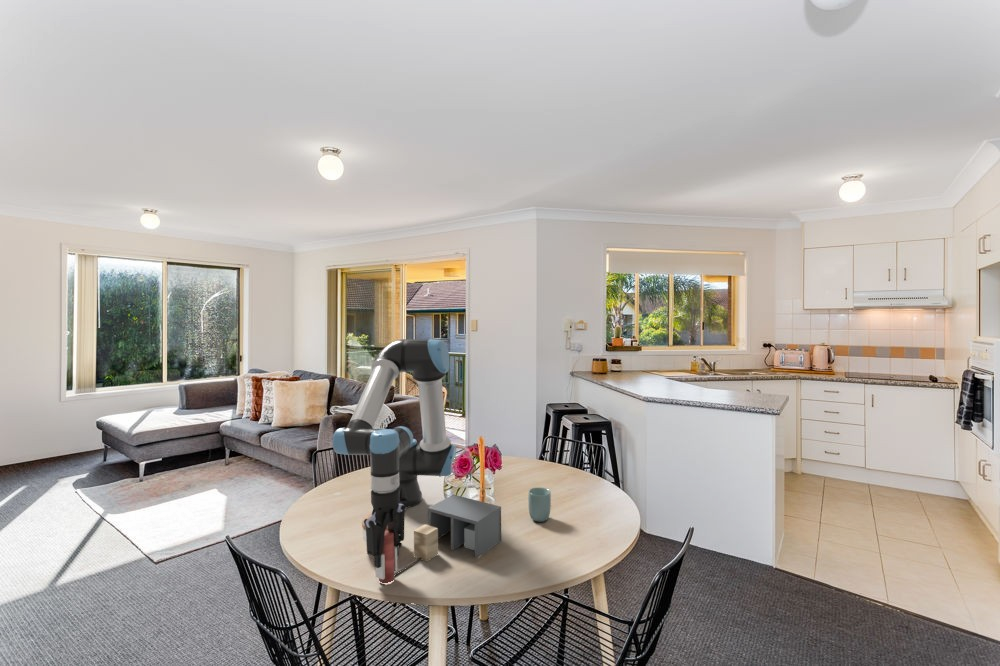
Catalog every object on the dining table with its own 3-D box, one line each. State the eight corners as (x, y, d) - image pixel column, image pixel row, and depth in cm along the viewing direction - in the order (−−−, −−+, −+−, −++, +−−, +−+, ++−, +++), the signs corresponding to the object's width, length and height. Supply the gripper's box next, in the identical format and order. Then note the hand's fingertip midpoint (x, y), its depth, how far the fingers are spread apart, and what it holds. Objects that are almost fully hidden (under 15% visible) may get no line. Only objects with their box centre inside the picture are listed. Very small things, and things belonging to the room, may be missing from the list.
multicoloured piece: (374, 581, 131) (373, 534, 130) (425, 549, 148) (424, 508, 147) (388, 587, 128) (387, 539, 127) (438, 554, 145) (437, 511, 145)
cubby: (428, 542, 153) (428, 507, 153) (453, 526, 164) (453, 494, 164) (477, 558, 143) (477, 521, 142) (501, 540, 154) (501, 506, 153)
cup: (549, 525, 165) (549, 496, 164) (527, 523, 166) (526, 494, 166) (551, 515, 172) (551, 488, 172) (530, 514, 174) (530, 486, 173)
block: (464, 547, 150) (464, 528, 150) (473, 540, 154) (473, 522, 154) (477, 551, 147) (477, 532, 147) (486, 544, 151) (486, 525, 151)
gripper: (371, 502, 121) (372, 593, 122) (417, 481, 135) (418, 563, 136) (350, 496, 125) (352, 584, 126) (397, 476, 139) (398, 556, 140)
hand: (386, 573), depth 131 cm, fingers closed on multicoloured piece, 4 cm apart
